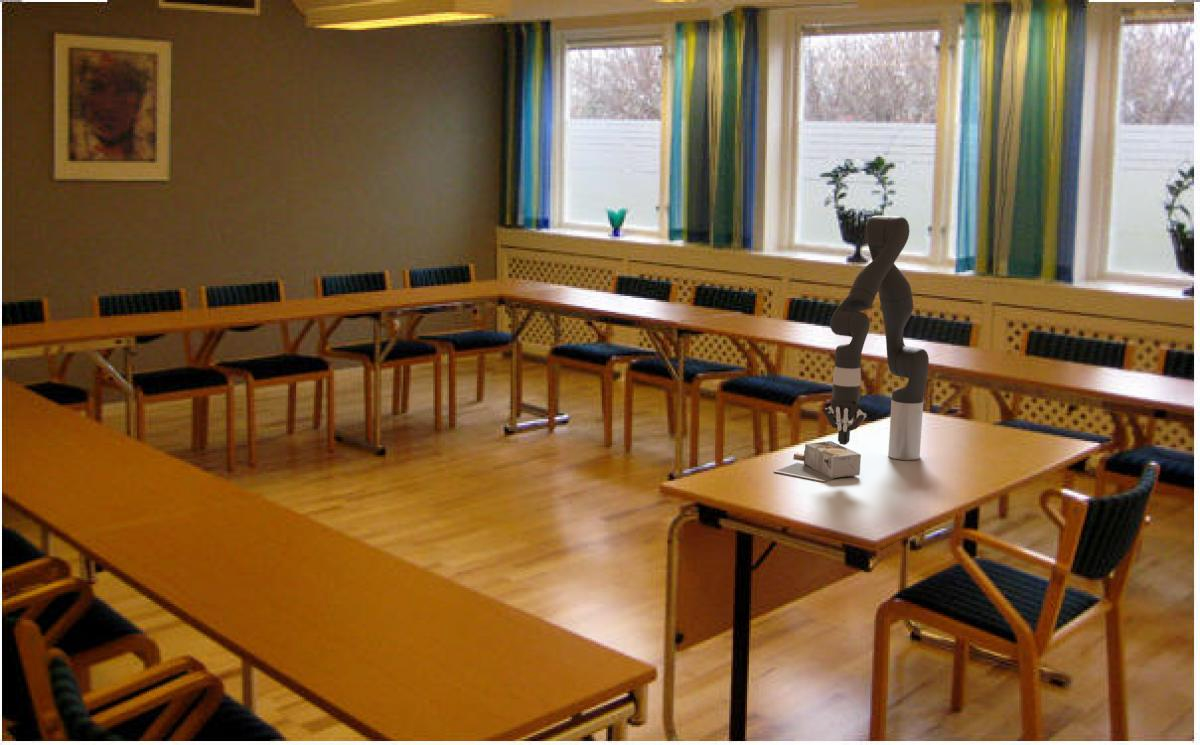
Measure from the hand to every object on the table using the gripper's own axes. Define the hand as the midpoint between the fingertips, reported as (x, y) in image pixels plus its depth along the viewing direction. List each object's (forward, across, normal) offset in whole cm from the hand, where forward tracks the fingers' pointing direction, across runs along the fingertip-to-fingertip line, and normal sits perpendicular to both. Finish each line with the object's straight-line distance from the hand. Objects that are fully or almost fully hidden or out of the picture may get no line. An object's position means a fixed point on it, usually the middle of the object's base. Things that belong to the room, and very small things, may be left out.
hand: (843, 443), depth 376 cm
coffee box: (+6, -1, -1) cm, 7 cm away
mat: (+10, +10, 0) cm, 14 cm away
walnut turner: (+10, +13, -13) cm, 21 cm away
